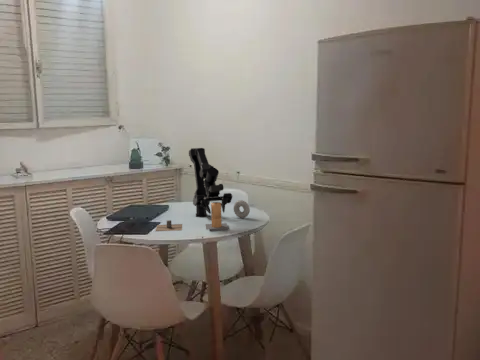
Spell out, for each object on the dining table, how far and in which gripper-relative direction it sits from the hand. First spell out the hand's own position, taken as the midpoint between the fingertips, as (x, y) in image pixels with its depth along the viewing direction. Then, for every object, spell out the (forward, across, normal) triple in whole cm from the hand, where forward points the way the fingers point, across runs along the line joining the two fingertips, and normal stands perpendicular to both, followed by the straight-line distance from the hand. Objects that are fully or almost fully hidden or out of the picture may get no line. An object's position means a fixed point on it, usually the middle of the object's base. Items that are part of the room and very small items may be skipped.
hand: (217, 212), depth 250 cm
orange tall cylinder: (+4, 0, +6) cm, 7 cm away
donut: (-7, +19, +19) cm, 28 cm away
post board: (0, -23, +11) cm, 26 cm away
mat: (+5, 0, +7) cm, 8 cm away
